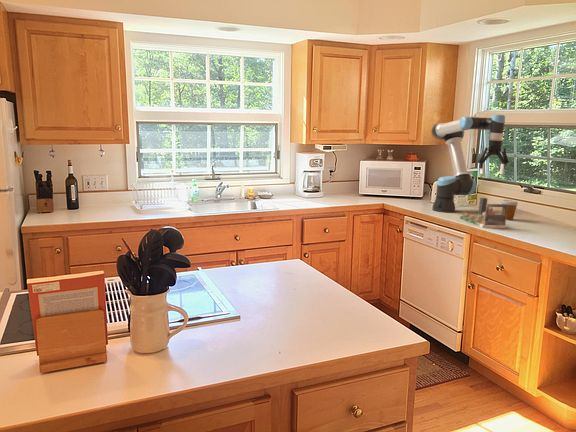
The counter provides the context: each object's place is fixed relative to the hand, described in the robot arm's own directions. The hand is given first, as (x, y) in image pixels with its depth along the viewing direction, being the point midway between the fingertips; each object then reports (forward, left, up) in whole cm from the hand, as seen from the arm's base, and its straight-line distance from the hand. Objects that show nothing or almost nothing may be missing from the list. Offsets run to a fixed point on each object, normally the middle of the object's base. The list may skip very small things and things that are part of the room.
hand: (491, 174), depth 301 cm
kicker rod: (+15, -10, -27) cm, 32 cm away
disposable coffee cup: (+2, +14, -29) cm, 32 cm away
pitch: (+13, -10, -29) cm, 33 cm away
